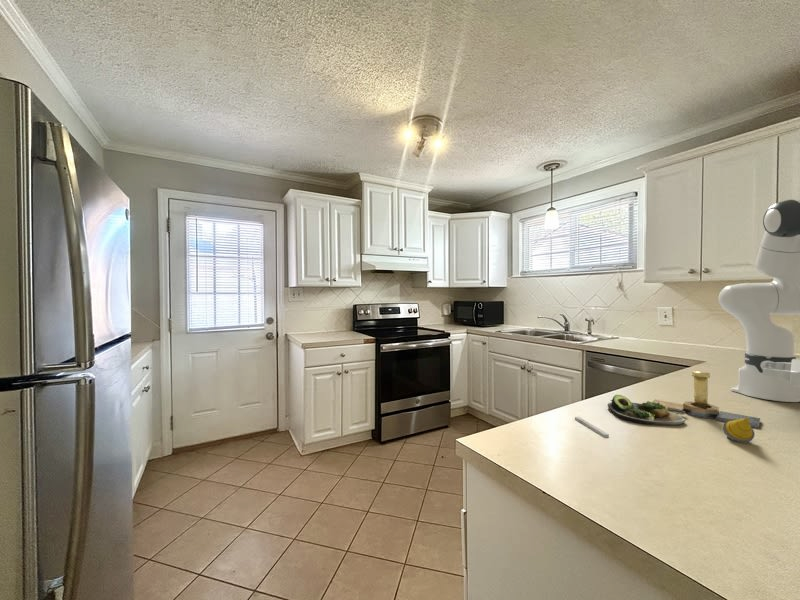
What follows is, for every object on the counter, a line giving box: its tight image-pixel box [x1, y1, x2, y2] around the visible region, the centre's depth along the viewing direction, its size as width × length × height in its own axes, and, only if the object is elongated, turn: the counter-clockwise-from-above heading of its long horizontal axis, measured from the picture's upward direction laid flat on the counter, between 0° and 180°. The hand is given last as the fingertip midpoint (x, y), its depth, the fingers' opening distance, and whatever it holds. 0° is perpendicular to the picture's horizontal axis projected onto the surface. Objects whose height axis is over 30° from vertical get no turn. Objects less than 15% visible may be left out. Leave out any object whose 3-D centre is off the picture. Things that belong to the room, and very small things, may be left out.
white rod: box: [574, 416, 610, 438], centre depth 89 cm, size 12×1×1 cm, turn 4°
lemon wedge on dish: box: [722, 418, 756, 444], centre depth 79 cm, size 5×5×10 cm
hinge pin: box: [691, 370, 711, 408], centre depth 98 cm, size 4×4×12 cm
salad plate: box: [607, 394, 687, 426], centre depth 98 cm, size 19×18×5 cm
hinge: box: [651, 398, 761, 429], centre depth 98 cm, size 7×23×2 cm, turn 40°
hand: (764, 368), depth 90 cm, fingers open, 8 cm apart
